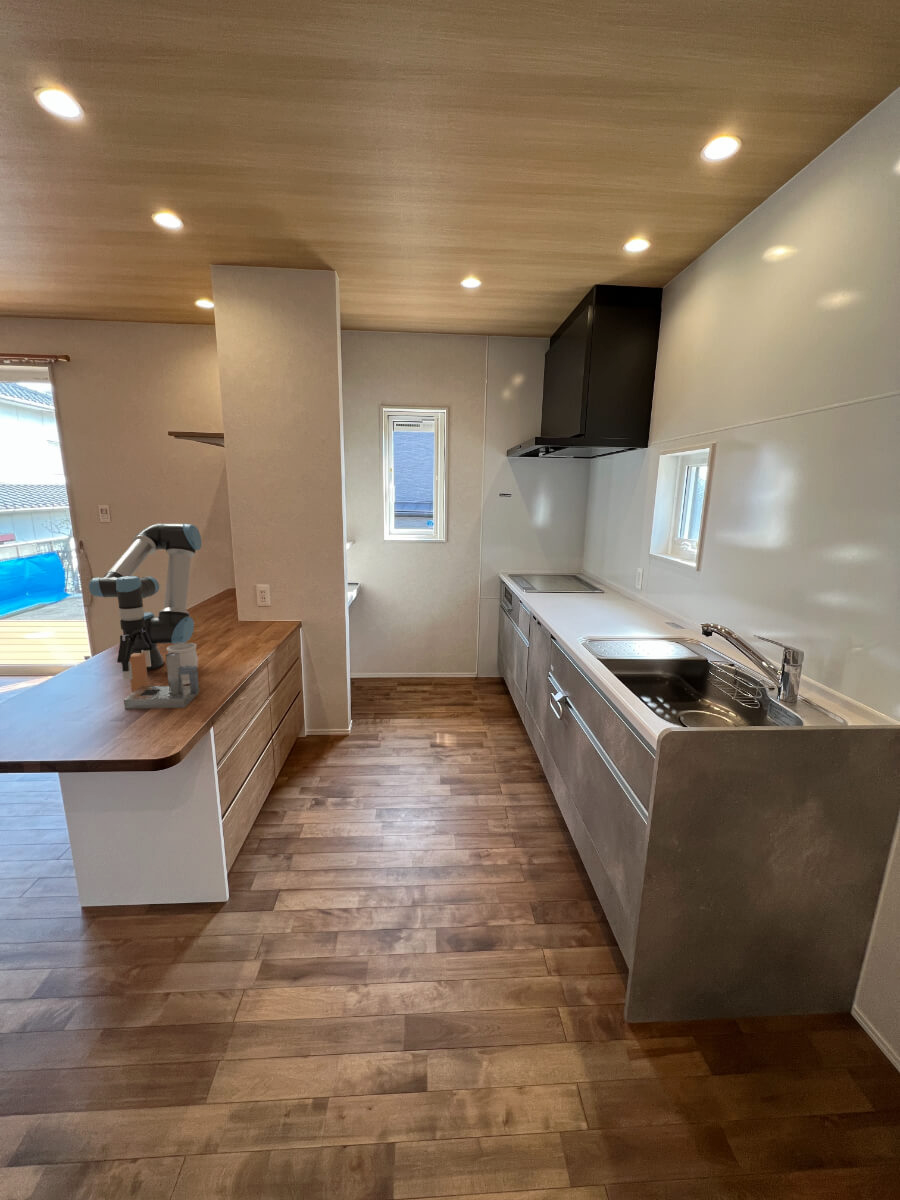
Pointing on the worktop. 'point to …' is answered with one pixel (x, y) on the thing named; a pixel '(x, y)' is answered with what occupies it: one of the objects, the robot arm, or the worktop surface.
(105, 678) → the worktop surface
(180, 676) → the plate with square hole
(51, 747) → the worktop surface
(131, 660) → the orange square bar
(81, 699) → the worktop surface
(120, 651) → the robot arm
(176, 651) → the jar
